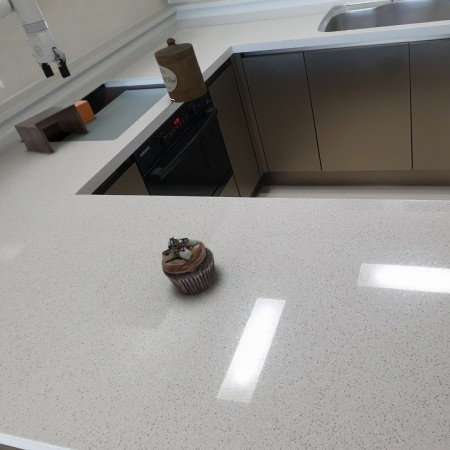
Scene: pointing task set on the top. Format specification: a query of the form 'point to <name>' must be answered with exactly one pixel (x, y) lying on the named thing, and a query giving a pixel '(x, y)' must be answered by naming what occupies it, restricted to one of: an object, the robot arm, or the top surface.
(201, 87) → the wooden container
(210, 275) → the cupcake
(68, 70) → the robot arm
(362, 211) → the top surface
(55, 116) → the shelf
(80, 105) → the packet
